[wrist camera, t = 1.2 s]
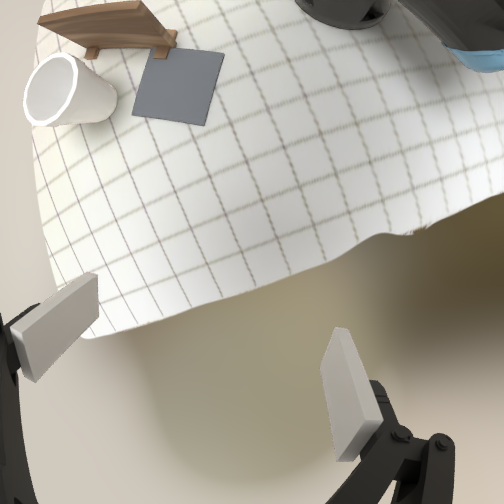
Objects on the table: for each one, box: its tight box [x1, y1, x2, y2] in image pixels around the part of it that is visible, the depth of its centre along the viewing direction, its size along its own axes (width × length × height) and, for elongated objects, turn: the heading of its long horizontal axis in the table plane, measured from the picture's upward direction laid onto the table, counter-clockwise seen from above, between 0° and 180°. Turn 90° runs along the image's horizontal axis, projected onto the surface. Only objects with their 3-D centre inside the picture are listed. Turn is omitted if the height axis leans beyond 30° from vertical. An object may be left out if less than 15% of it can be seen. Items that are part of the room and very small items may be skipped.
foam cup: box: [23, 52, 118, 127], centre depth 31 cm, size 10×9×13 cm
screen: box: [37, 0, 177, 60], centre depth 27 cm, size 5×16×14 cm, turn 76°
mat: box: [132, 47, 224, 126], centre depth 36 cm, size 11×11×1 cm
